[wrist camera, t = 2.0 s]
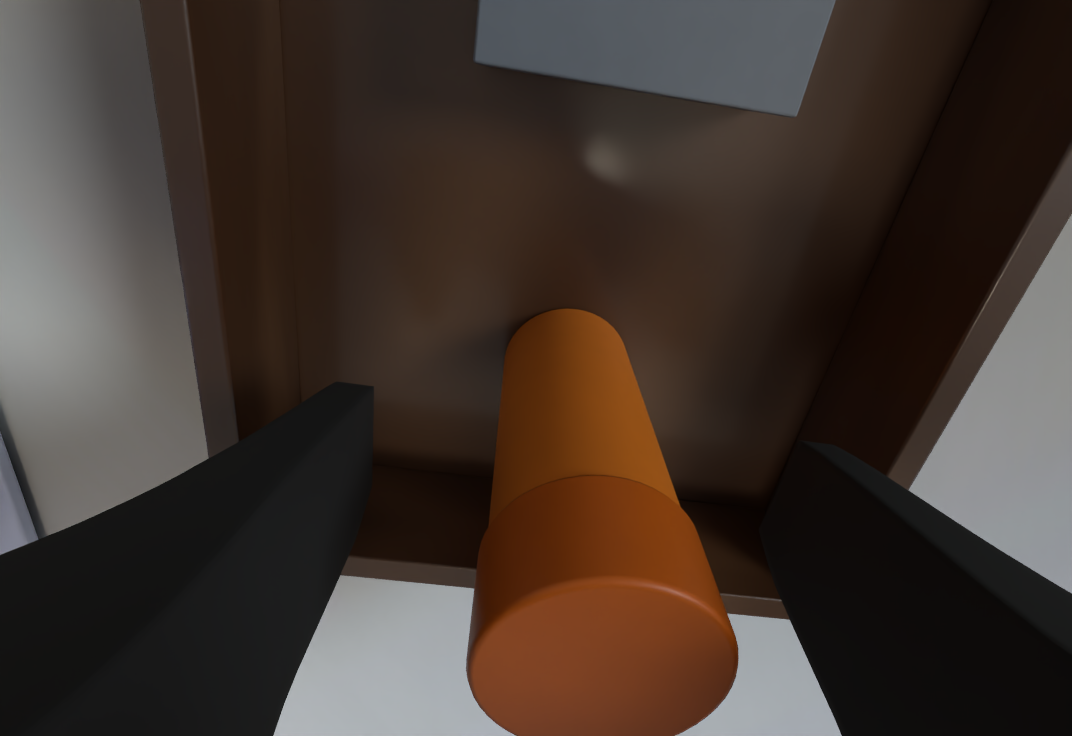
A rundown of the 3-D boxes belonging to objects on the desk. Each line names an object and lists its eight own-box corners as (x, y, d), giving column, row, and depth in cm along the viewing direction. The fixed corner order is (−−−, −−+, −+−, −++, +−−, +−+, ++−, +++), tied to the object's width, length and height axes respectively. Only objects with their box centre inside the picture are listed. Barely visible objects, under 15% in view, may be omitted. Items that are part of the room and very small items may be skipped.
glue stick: (492, 411, 13) (454, 745, 7) (508, 293, 12) (480, 567, 5) (615, 426, 14) (696, 764, 7) (645, 312, 12) (782, 598, 5)
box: (288, 460, 15) (222, 564, 11) (227, -432, 8) (17, -785, 4) (770, 515, 16) (831, 624, 12) (1109, -228, 9) (1437, -401, 5)
